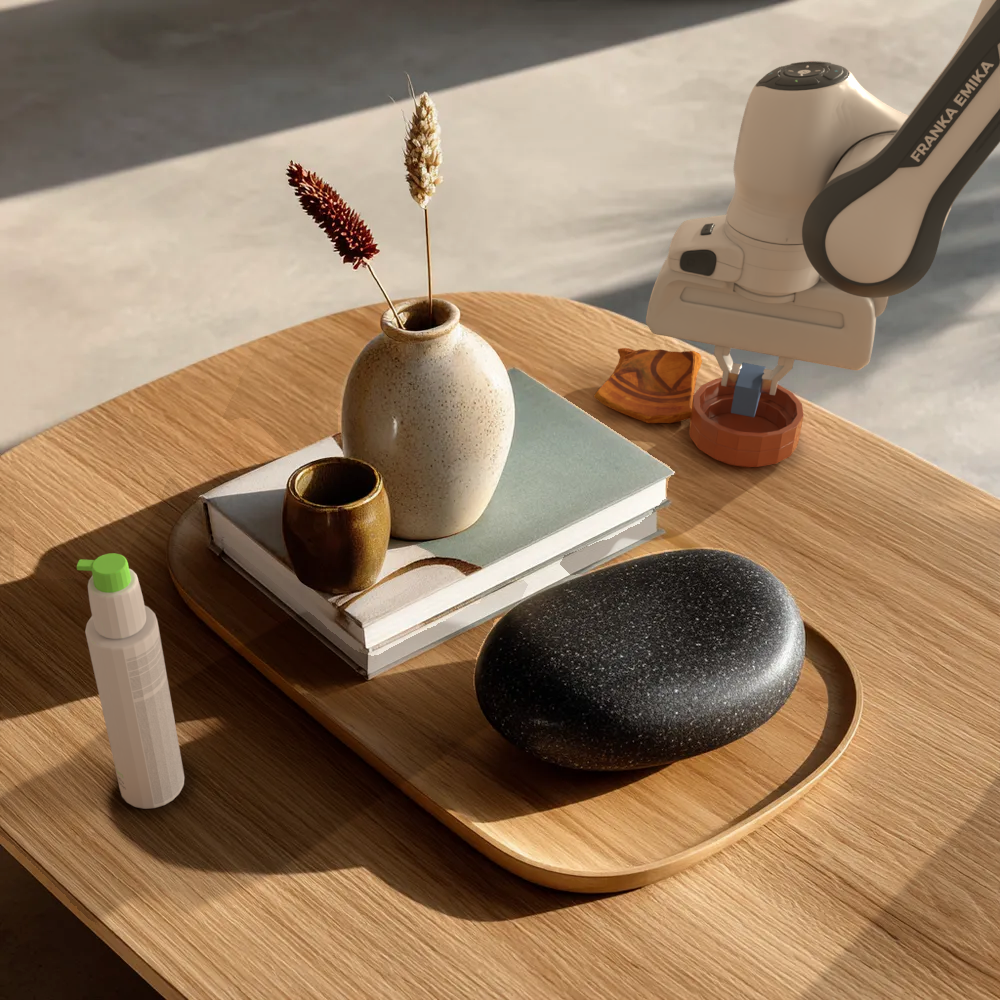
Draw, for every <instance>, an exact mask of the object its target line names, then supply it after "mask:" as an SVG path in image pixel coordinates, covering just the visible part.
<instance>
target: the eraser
mask: <svg viewBox="0 0 1000 1000" xmlns="http://www.w3.org/2000/svg"><path fill="white" fill-rule="evenodd" d="M764 369H767V368H766V365H765V366H764V365H760V364H755V363H748V362H742V363H741V370H740V373H739V377H738V379H737V382H736V386H735V391H734V397H733V402H732V408H731V413H734V414H739V415H744V416H749V417H755V413H756V409H757V406H758V402H759V398H760V395H761V393H760V388H761V380H762V375H763V372H764Z"/></svg>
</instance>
